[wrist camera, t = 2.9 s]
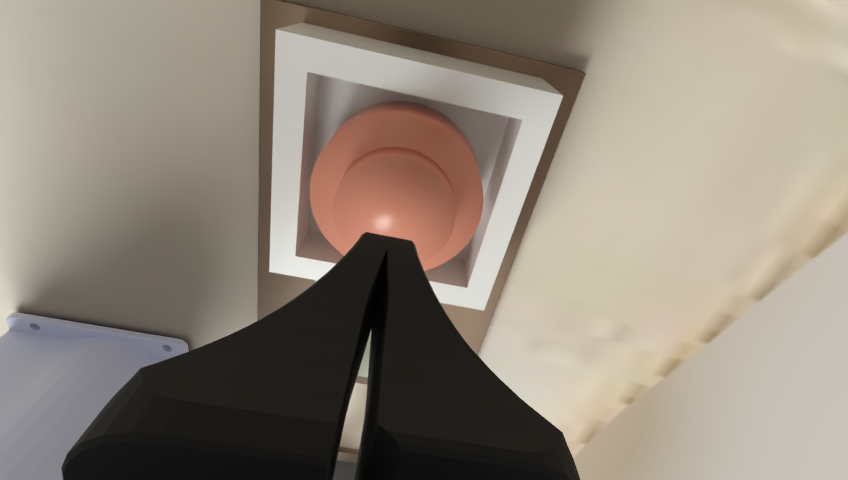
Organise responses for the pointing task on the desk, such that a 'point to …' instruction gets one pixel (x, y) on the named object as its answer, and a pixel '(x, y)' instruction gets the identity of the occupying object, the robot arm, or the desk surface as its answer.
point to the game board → (271, 285)
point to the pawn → (344, 470)
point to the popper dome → (399, 181)
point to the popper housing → (413, 82)
